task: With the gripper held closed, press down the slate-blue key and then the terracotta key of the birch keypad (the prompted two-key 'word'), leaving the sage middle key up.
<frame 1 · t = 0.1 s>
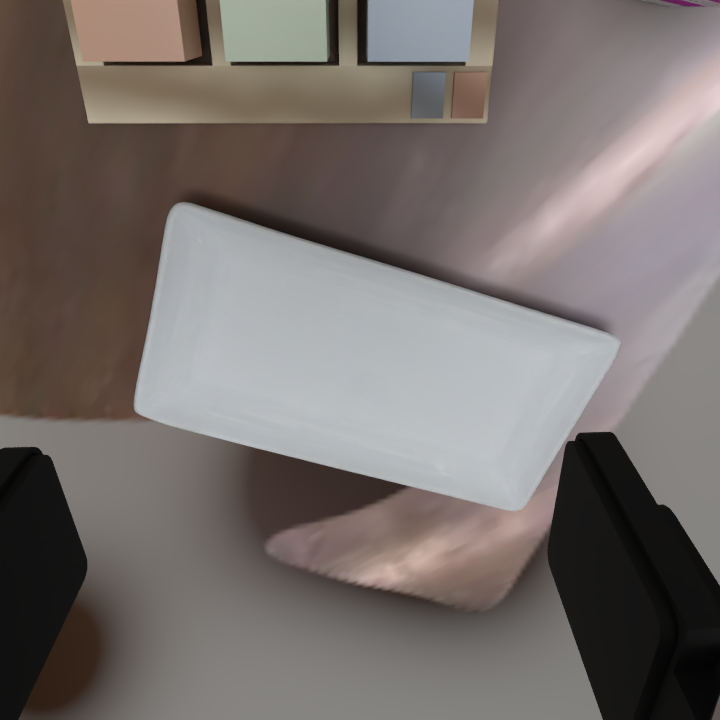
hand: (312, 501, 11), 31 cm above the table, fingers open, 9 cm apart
key terracotta: (137, 2, 31), point 4 cm above the table, slide at 0.0 cm
key slate: (417, 3, 31), point 4 cm above the table, slide at 0.0 cm
keypad base: (285, 3, 34), on the table
tray: (370, 355, 46), on the table
key sage: (277, 2, 31), point 4 cm above the table, slide at 0.0 cm
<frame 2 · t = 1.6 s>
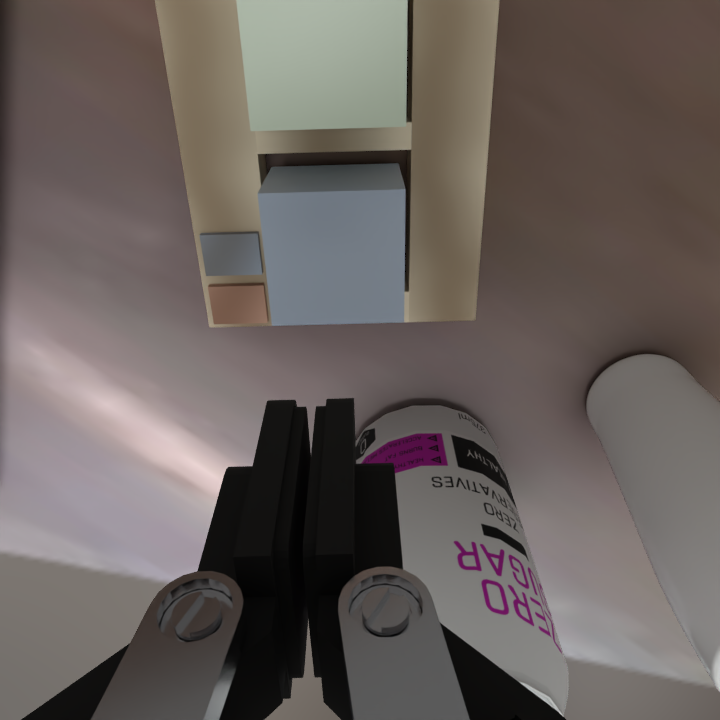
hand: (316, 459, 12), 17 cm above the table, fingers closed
supplement can: (421, 456, 34), on the table
key slate: (336, 242, 24), point 4 cm above the table, slide at 0.0 cm
keypad base: (331, 33, 24), on the table
drinking glass: (632, 391, 32), on the table
key sage: (326, 38, 20), point 4 cm above the table, slide at 0.0 cm
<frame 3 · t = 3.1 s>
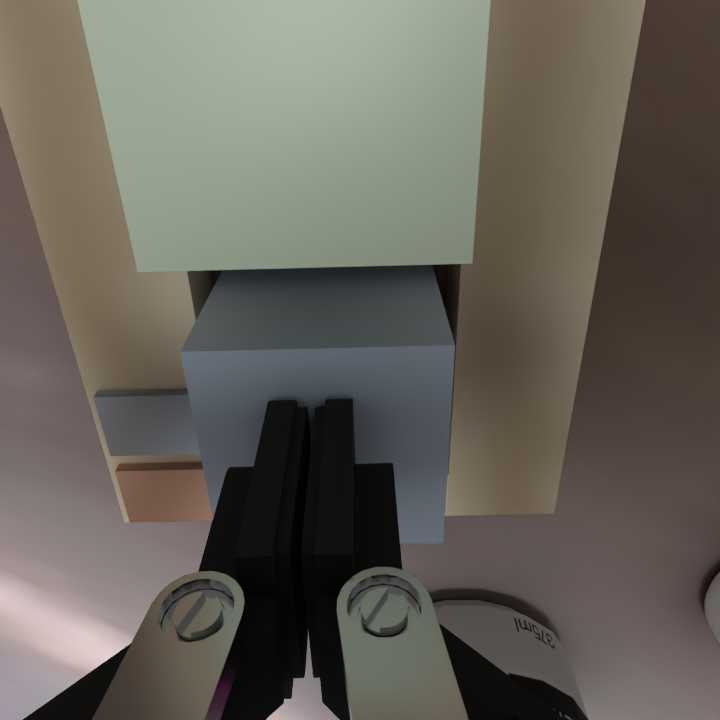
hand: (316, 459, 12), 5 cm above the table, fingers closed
supplement can: (454, 654, 24), on the table
key slate: (328, 401, 14), point 3 cm above the table, slide at 1.1 cm, touching gripper
keypad base: (317, 54, 13), on the table
key sage: (302, 71, 10), point 4 cm above the table, slide at 0.0 cm
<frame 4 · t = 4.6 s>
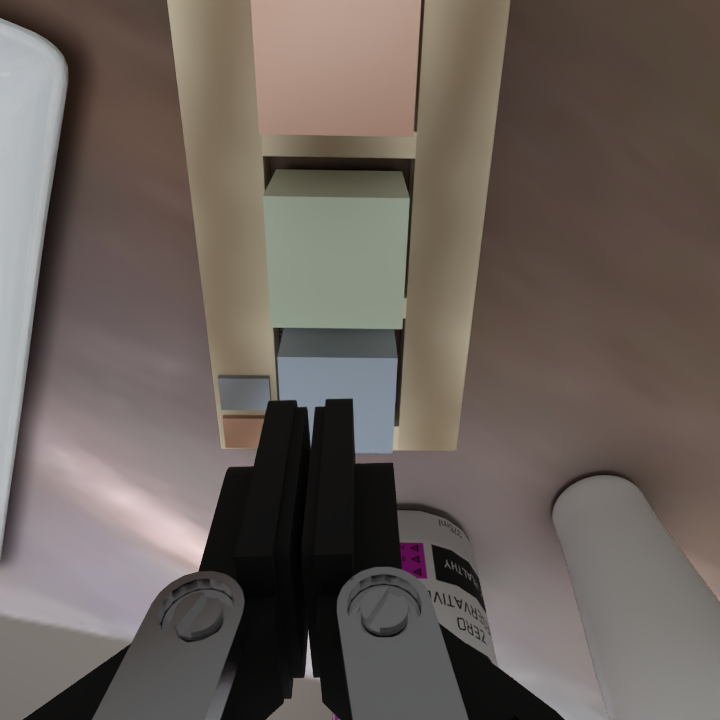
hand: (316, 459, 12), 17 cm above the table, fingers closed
supplement can: (404, 549, 38), on the table
key terracotta: (337, 45, 20), point 4 cm above the table, slide at 0.0 cm
key slate: (338, 383, 28), point 3 cm above the table, slide at 1.2 cm
keypad base: (340, 217, 27), on the table
drinking glass: (593, 502, 36), on the table
key sage: (337, 247, 24), point 4 cm above the table, slide at 0.0 cm
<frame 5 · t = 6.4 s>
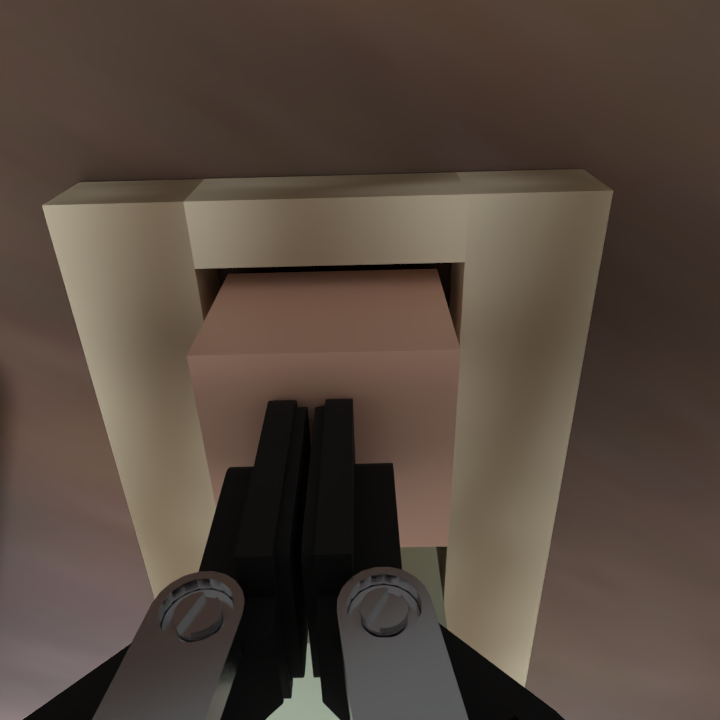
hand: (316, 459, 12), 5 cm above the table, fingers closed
key terracotta: (333, 404, 14), point 3 cm above the table, slide at 0.9 cm, touching gripper
keypad base: (347, 528, 20), on the table
key sage: (344, 635, 17), point 4 cm above the table, slide at 0.0 cm
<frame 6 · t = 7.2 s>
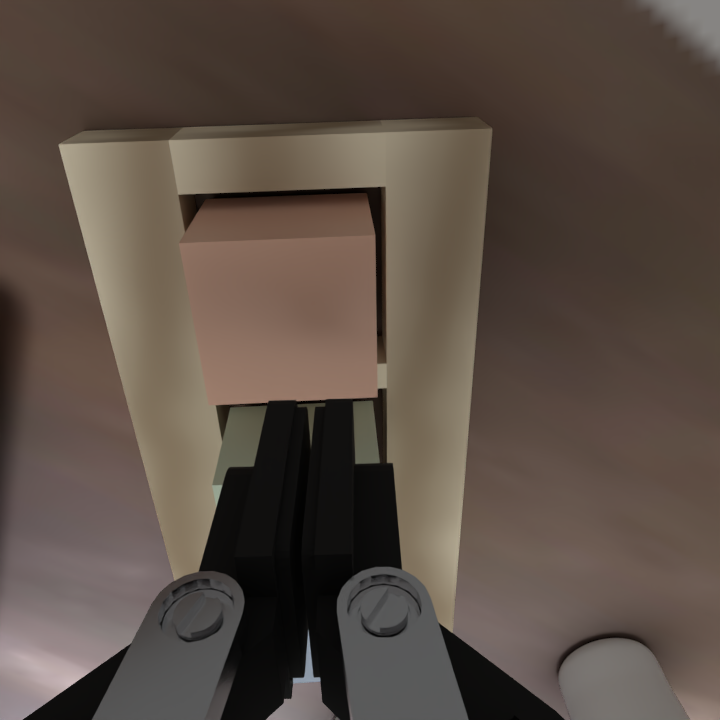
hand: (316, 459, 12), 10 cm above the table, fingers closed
key terracotta: (289, 296, 19), point 3 cm above the table, slide at 1.2 cm
key slate: (318, 600, 26), point 3 cm above the table, slide at 1.2 cm
keypad base: (308, 427, 25), on the table
drinking glass: (601, 659, 34), on the table
key sage: (305, 496, 21), point 4 cm above the table, slide at 0.0 cm
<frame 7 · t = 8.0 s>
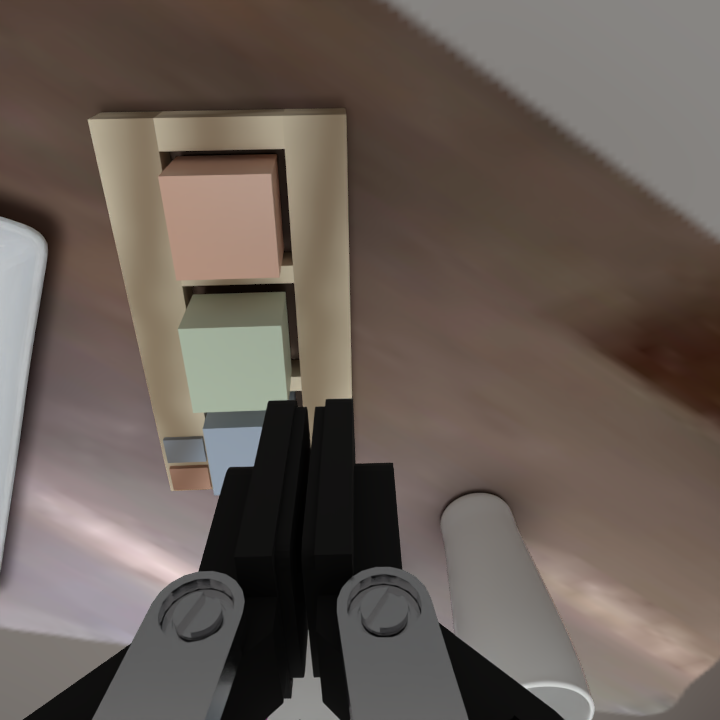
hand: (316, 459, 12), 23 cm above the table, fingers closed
supplement can: (328, 557, 47), on the table
key terracotta: (227, 216, 30), point 3 cm above the table, slide at 1.2 cm
key slate: (255, 440, 37), point 3 cm above the table, slide at 1.2 cm
keypad base: (248, 317, 36), on the table
drinking glass: (473, 513, 46), on the table
key sage: (240, 351, 33), point 4 cm above the table, slide at 0.0 cm
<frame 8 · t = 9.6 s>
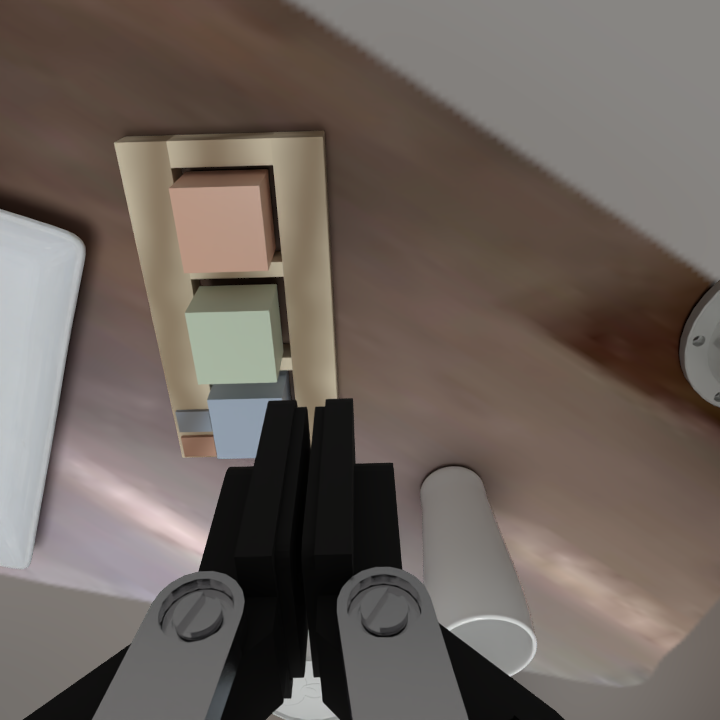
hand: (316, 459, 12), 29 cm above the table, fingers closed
supplement can: (322, 524, 53), on the table
key terracotta: (226, 220, 37), point 3 cm above the table, slide at 1.2 cm
key slate: (253, 412, 44), point 3 cm above the table, slide at 1.2 cm
keypad base: (247, 307, 43), on the table
drinking glass: (450, 485, 51), on the table
key sage: (237, 333, 39), point 4 cm above the table, slide at 0.0 cm
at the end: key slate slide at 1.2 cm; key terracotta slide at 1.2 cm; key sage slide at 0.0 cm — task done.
